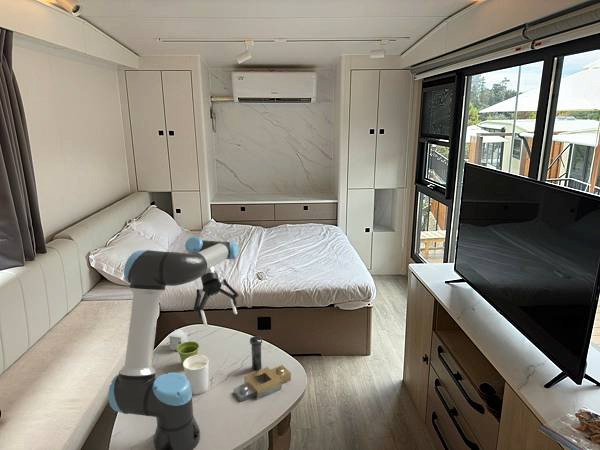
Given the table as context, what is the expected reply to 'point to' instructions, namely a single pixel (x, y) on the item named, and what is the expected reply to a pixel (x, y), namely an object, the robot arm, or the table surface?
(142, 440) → the table surface
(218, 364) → the table surface
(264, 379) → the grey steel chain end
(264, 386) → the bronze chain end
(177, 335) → the skincare box
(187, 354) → the plant pot
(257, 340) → the black pin
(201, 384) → the candle holder
